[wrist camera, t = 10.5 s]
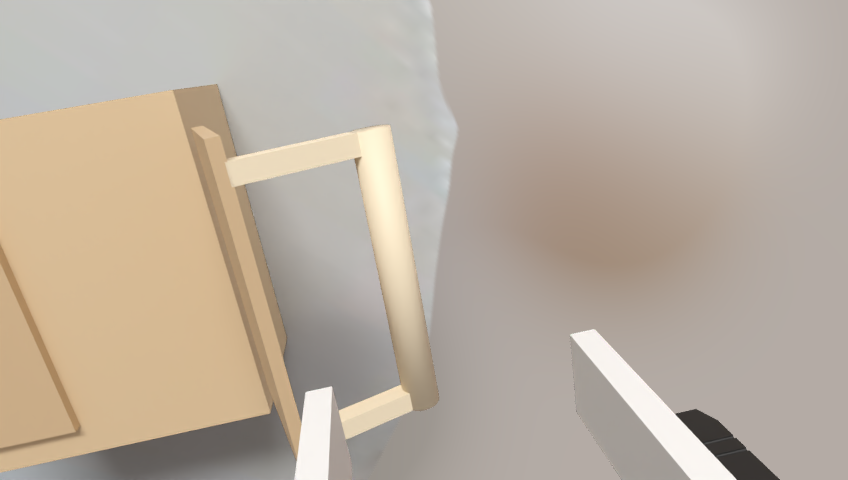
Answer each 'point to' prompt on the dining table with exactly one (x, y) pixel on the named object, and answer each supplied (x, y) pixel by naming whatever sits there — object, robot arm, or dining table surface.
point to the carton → (119, 281)
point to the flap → (389, 250)
